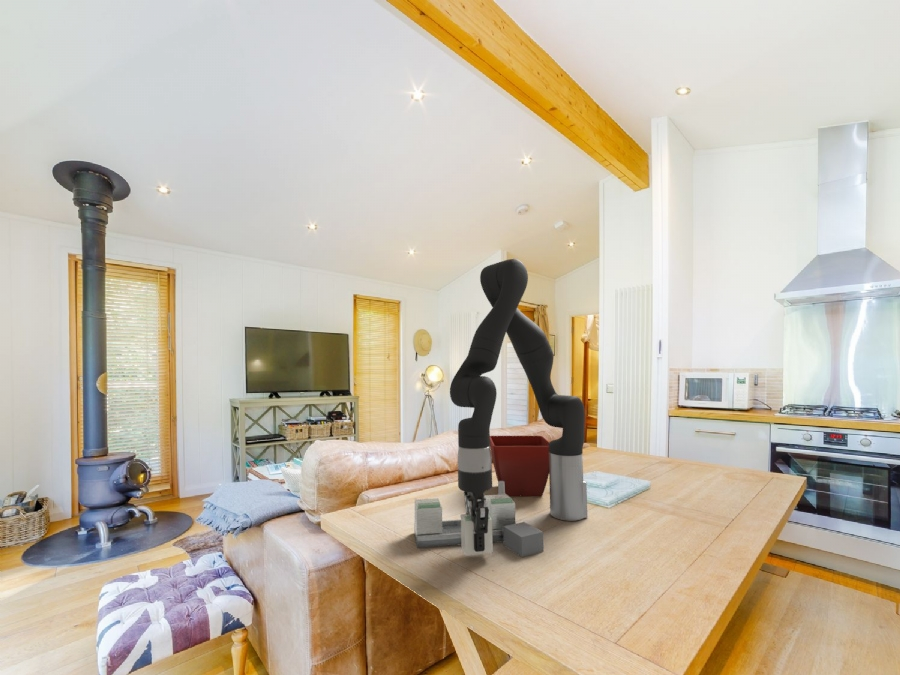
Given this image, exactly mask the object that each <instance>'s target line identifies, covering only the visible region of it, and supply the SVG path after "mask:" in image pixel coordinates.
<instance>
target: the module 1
mask: <svg viewBox="0 0 900 675" xmlns="http://www.w3.org/2000/svg"><path fill="white" fill-rule="evenodd" d="M473 517H474V518H475V517H476V516H473ZM460 520H461V546H460V547H461V549H462V551H463V553H464V556H474V555H484V554H492V553H493V552H494V550H493V549H494V546H493V543H494V542H492V519H491V518H490V516H489V515H488V532H487V533H484V540H485V550H484V551H479V552H476V551H475V550H474V532H473V522H471V521H470V514H468V515H467V514H466V513H461V514H460ZM479 527H482V525H479Z"/></svg>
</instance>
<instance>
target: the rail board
mask: <svg viewBox="0 0 900 675" xmlns="http://www.w3.org/2000/svg"><path fill="white" fill-rule="evenodd" d="M484 498H486V504H487V505H486V507H488V509H489V513H488V515H489V516H490V518H491V519H492V542H493V543H498V542H497V541H501V542H504V532H503V526H508V525H512V524H516V502H515V501H514V499H513V498H512V497H509V496H508V495H507V494H501V495H498V494H488V495H487V494H486V495H484ZM413 525H414V528H413V529H414V538H415V544H416V548H417V549H422V548H424V549H425V548H436V547H435V546H438V547H447V546H446V545H450V546H459V545H458V544H461V519H452V520H451V519H449V520H447V519H446V520H443V506H442V504H441V502H440V499H439V497H437V498H422V499H414V524H413Z"/></svg>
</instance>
